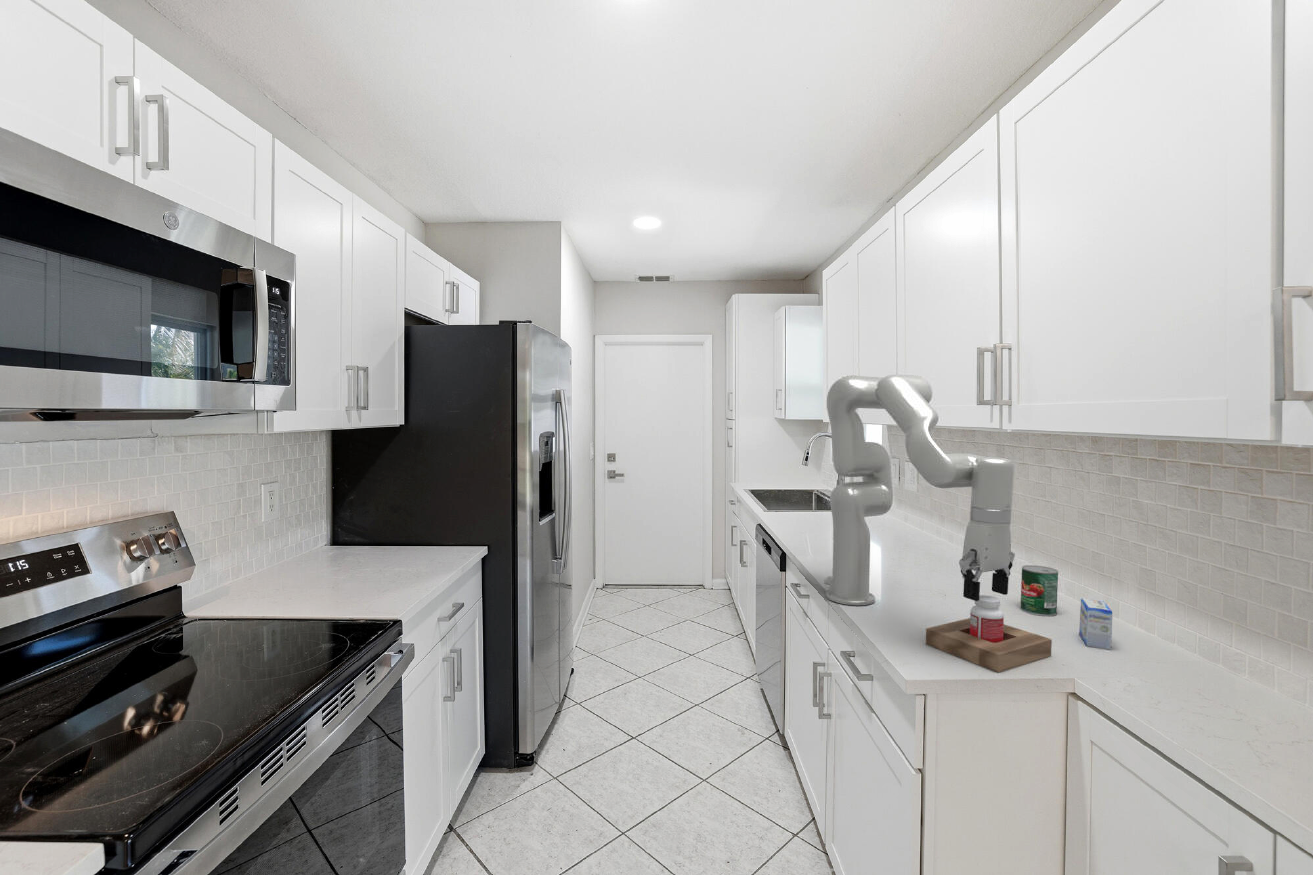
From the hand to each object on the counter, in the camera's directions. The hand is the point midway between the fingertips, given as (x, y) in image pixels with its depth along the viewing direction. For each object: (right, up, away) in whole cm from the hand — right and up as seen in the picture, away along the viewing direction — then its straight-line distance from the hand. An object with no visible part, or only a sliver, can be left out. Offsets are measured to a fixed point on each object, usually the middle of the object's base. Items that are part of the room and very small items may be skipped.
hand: (985, 595), depth 125 cm
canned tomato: (+28, -11, +26) cm, 40 cm away
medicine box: (+27, -12, +5) cm, 30 cm away
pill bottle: (0, -12, 0) cm, 12 cm away
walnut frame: (0, -11, 0) cm, 11 cm away
